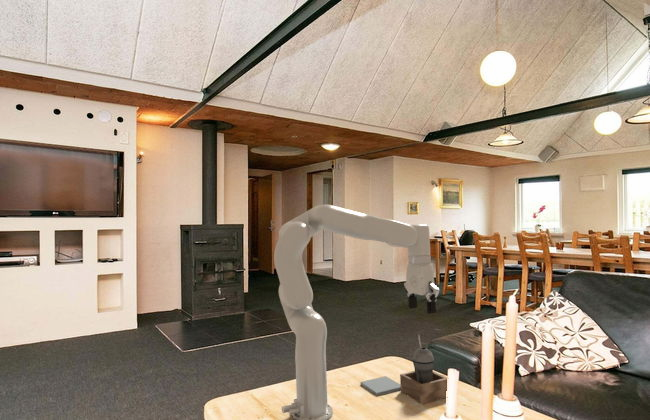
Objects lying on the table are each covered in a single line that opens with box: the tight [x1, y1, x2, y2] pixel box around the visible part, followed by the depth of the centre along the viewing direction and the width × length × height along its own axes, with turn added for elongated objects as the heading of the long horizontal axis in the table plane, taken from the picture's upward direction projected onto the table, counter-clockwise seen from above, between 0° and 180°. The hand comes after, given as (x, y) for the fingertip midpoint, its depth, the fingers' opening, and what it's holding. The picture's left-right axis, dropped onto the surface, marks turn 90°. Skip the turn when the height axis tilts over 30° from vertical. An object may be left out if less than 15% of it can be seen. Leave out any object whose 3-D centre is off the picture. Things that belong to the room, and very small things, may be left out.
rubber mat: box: [360, 375, 401, 397], centre depth 146 cm, size 11×11×1 cm
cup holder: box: [399, 370, 448, 405], centre depth 138 cm, size 11×11×6 cm
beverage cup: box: [411, 334, 435, 384], centre depth 139 cm, size 7×7×20 cm
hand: (422, 310), depth 139 cm, fingers open, 9 cm apart
